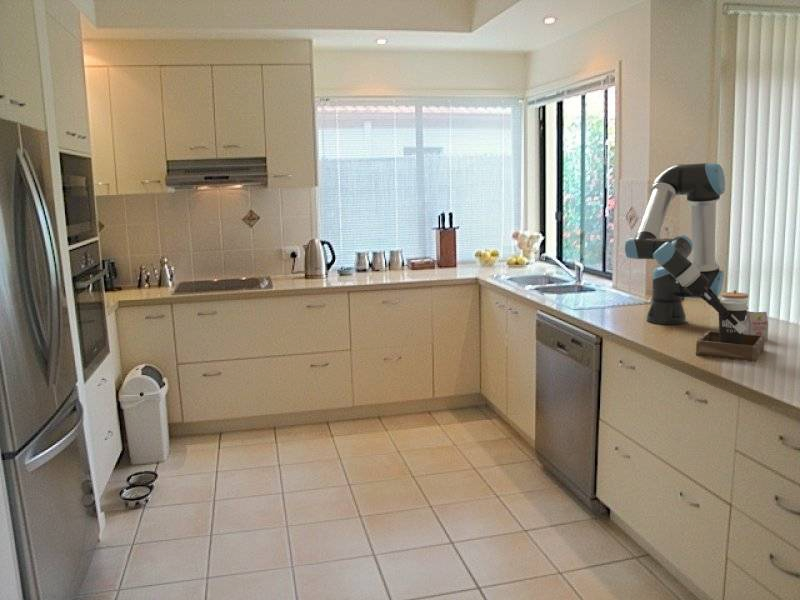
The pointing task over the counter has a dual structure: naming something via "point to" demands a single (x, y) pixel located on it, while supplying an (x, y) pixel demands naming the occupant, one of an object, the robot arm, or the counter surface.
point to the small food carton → (756, 324)
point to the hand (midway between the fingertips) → (741, 328)
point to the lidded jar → (735, 296)
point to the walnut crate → (730, 347)
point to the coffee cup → (725, 329)
